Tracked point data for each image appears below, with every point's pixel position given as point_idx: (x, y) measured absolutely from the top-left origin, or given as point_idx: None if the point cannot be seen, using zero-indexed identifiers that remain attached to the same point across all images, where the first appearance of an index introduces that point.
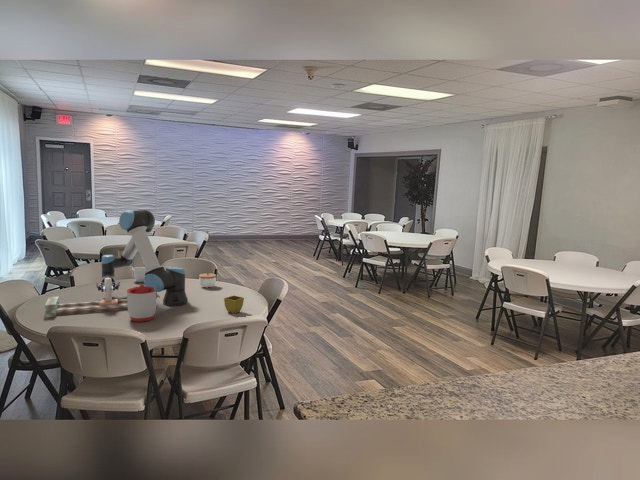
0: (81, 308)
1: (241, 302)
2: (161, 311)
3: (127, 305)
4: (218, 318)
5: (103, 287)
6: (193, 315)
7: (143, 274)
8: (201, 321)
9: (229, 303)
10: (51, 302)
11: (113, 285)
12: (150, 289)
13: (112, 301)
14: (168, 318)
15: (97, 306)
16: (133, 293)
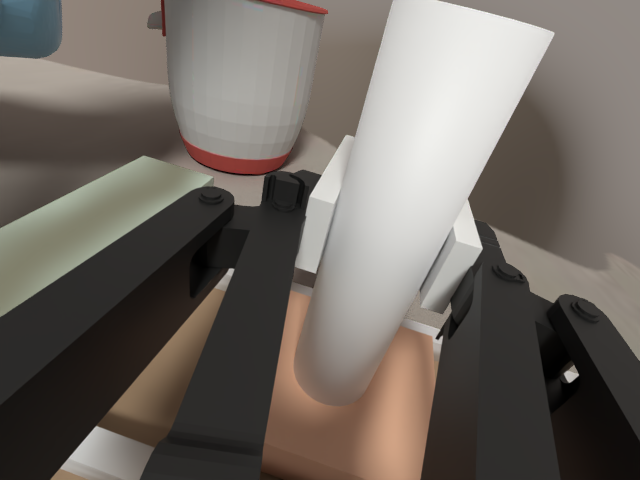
0: (564, 373)
1: None
2: (78, 161)
3: (307, 100)
4: (36, 60)
5: (469, 208)
6: (51, 92)
7: None
8: (104, 75)
9: None
10: None
11: (297, 187)
12: None
13: (295, 330)
14: (153, 118)
15: (435, 336)
16: (310, 6)
